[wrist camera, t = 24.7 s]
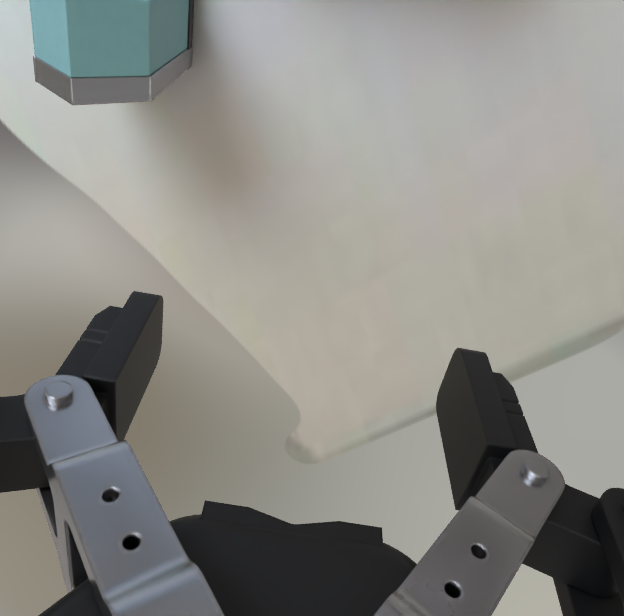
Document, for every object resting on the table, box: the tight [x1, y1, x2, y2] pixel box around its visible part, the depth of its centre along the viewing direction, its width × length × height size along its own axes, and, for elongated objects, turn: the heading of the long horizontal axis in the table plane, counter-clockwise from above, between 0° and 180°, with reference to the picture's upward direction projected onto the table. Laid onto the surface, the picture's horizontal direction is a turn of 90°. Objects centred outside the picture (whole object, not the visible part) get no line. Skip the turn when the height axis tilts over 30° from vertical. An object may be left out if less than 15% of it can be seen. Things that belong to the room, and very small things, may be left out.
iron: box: [29, 0, 194, 105], centre depth 28 cm, size 12×6×7 cm
